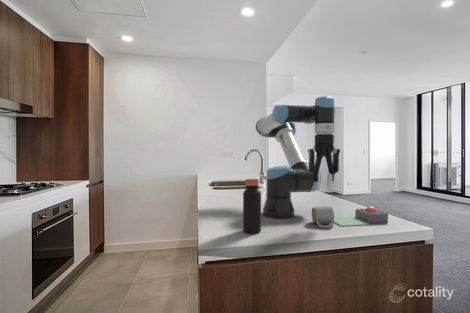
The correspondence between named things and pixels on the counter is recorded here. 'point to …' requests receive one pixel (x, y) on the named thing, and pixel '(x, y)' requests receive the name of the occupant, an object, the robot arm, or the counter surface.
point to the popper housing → (371, 216)
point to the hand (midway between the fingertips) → (323, 189)
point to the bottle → (252, 207)
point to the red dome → (371, 210)
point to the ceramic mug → (323, 216)
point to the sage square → (348, 221)
